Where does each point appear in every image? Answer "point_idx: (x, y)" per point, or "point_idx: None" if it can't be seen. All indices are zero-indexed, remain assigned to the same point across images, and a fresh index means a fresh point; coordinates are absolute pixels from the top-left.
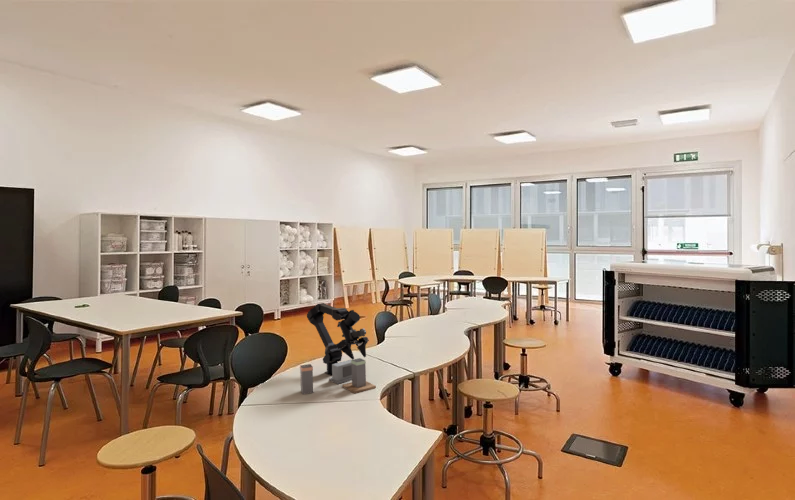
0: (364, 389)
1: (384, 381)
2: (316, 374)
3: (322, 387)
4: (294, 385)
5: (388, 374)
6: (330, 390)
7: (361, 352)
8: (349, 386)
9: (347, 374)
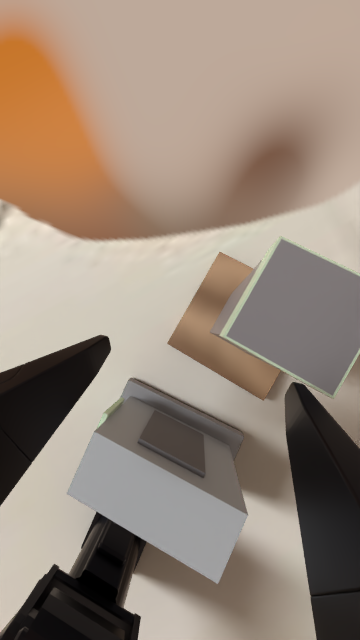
0: None
1: (134, 261)
2: (158, 604)
3: None
4: None
5: (55, 284)
6: None
7: (66, 404)
8: None
9: (179, 427)
